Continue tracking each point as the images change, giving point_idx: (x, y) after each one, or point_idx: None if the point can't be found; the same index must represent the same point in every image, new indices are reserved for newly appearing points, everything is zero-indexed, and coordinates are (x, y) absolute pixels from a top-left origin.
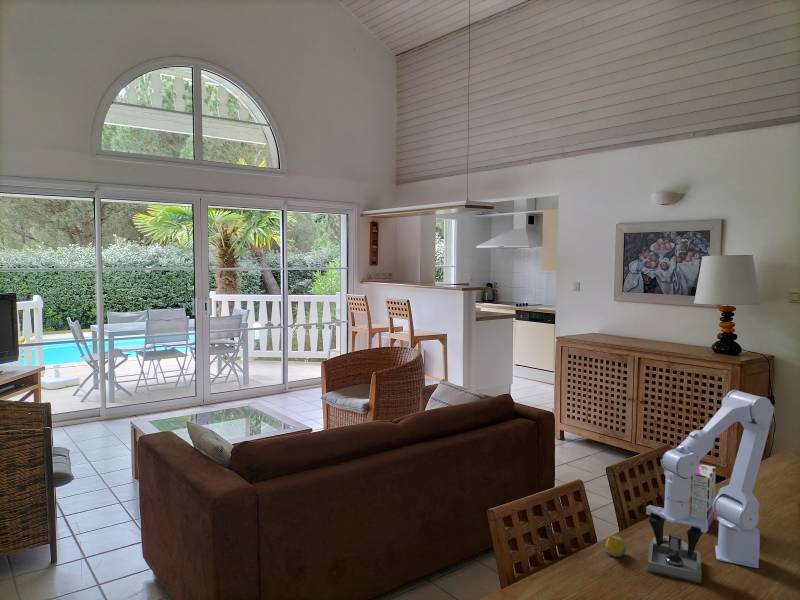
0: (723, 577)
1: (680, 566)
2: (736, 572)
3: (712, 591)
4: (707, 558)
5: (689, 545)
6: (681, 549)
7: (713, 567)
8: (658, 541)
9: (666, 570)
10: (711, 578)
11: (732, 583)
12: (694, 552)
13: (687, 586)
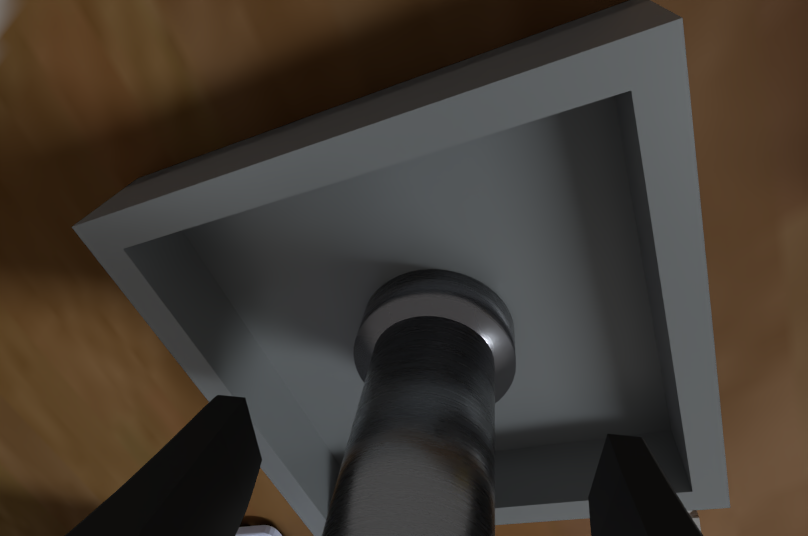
0: (127, 375)
1: (365, 309)
2: (133, 463)
3: (7, 119)
4: None
5: (120, 526)
6: None
7: None
8: (634, 483)
9: (412, 96)
10: None
11: (47, 339)
12: None
13: (167, 22)
